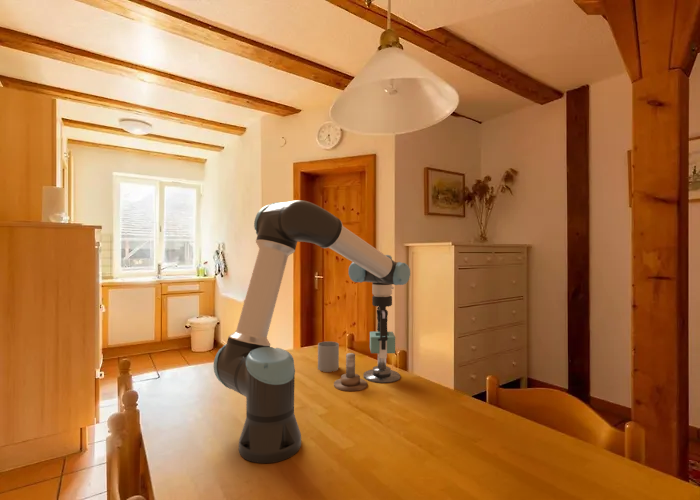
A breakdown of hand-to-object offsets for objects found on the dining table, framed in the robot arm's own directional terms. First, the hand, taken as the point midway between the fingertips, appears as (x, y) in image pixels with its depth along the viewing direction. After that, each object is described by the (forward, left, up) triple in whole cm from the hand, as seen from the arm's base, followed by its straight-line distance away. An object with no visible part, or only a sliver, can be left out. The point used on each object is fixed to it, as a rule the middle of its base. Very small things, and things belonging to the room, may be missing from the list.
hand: (382, 353), depth 146 cm
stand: (-9, +12, -9) cm, 17 cm away
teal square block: (0, 0, +2) cm, 2 cm away
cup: (+9, +21, -9) cm, 25 cm away
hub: (0, 0, -9) cm, 9 cm away
